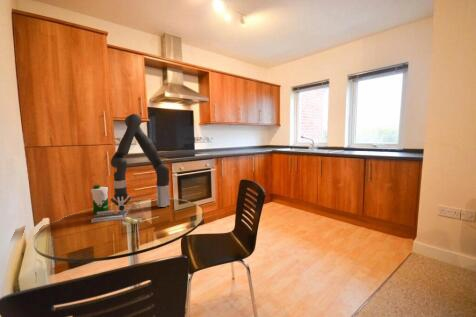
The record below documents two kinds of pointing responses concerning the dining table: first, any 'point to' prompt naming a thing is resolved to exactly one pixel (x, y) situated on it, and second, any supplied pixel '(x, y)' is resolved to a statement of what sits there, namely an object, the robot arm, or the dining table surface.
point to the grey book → (109, 215)
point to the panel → (110, 218)
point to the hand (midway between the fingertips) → (121, 210)
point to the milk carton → (100, 199)
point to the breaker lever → (115, 210)
